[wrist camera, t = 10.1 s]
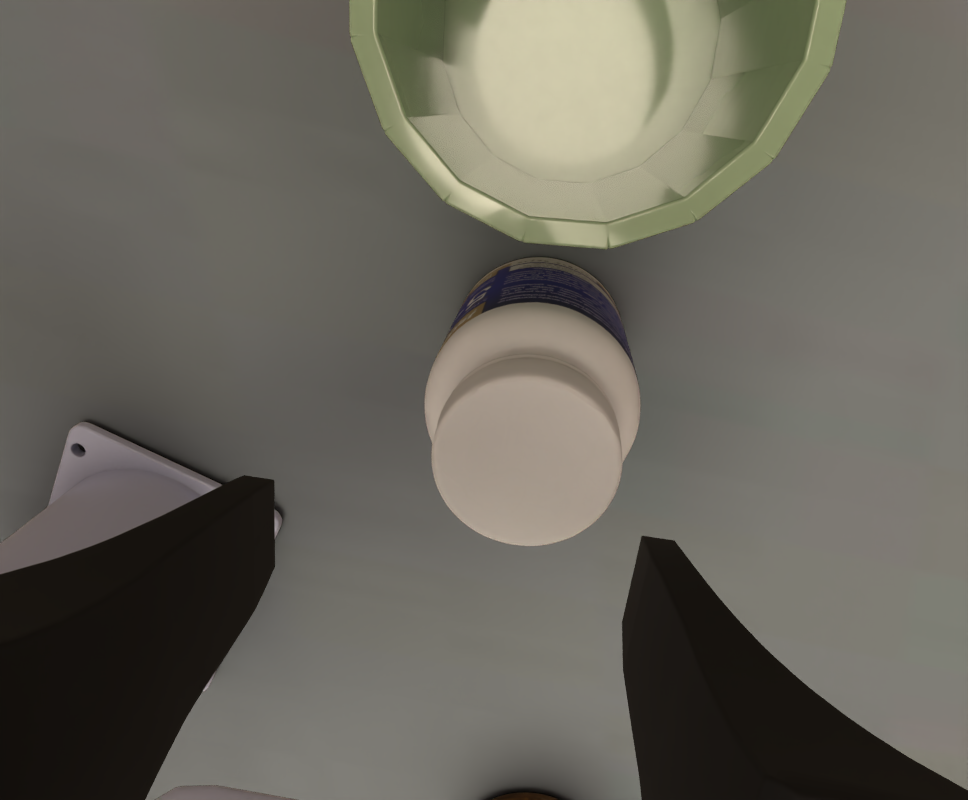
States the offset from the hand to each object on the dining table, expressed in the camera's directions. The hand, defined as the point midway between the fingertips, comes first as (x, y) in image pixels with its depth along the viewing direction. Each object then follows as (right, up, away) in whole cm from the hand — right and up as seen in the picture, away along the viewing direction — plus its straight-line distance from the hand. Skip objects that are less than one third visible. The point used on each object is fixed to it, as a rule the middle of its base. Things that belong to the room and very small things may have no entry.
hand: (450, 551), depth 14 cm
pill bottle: (+2, +5, +9) cm, 11 cm away
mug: (+4, +14, +5) cm, 15 cm away
